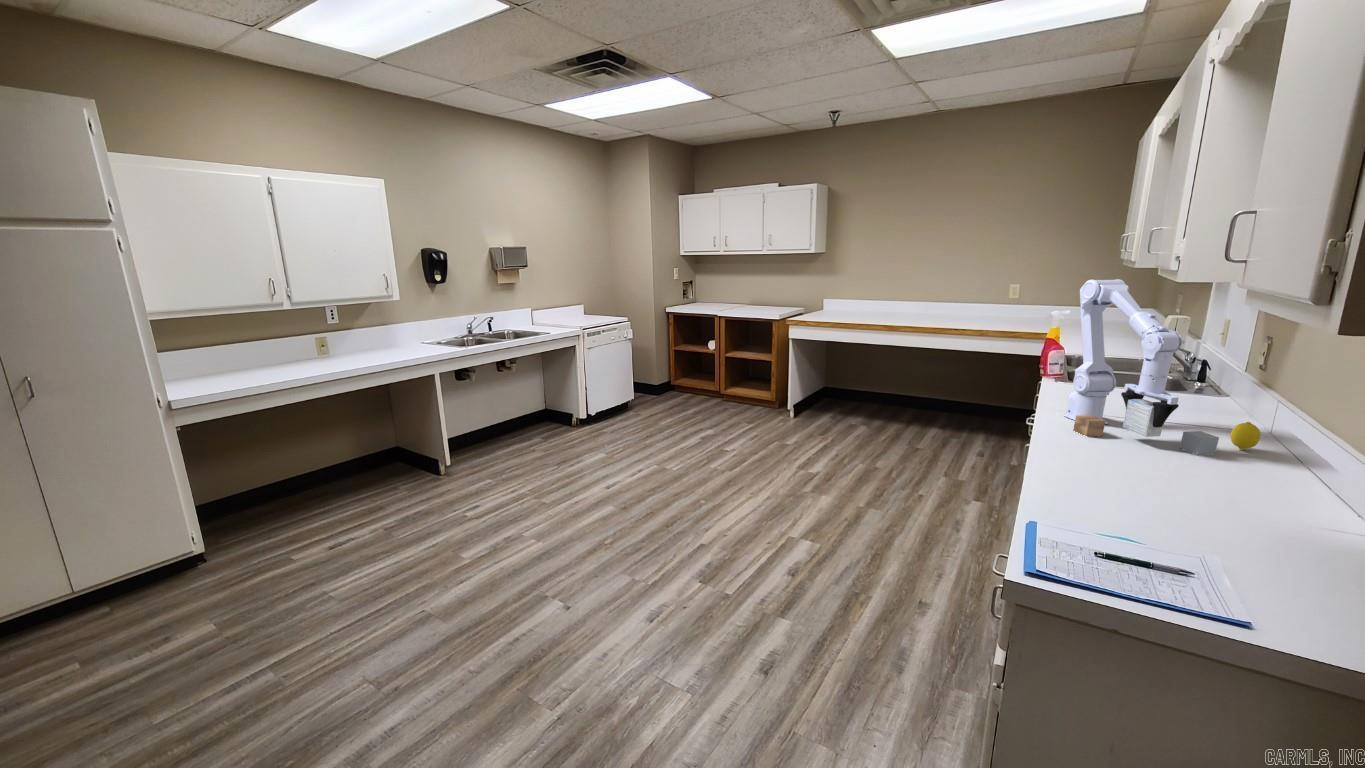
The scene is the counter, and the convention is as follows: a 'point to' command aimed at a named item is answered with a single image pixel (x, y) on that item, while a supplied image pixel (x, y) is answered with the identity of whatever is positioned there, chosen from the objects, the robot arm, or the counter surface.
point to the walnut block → (1089, 425)
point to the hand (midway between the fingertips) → (1143, 421)
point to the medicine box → (1141, 418)
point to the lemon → (1245, 435)
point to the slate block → (1199, 443)
